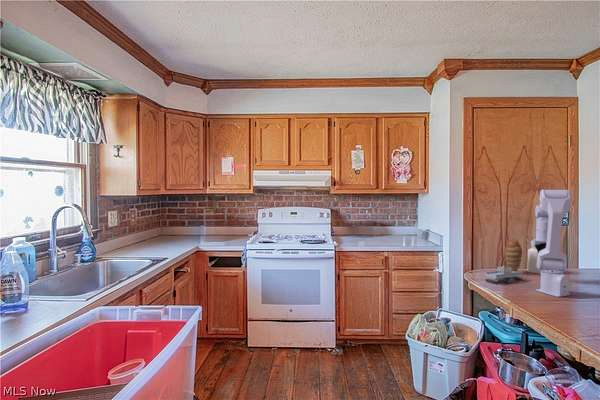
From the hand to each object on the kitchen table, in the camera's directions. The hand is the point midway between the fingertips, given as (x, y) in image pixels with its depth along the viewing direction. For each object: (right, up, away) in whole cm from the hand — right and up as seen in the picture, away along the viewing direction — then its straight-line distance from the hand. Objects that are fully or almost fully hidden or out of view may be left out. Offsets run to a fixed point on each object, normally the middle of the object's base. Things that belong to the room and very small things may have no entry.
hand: (542, 259), depth 164 cm
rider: (-19, -7, -1) cm, 20 cm away
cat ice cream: (-5, -10, +15) cm, 19 cm away
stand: (-19, -10, -1) cm, 22 cm away
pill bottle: (+9, -10, +17) cm, 21 cm away
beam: (-19, -8, -1) cm, 21 cm away
